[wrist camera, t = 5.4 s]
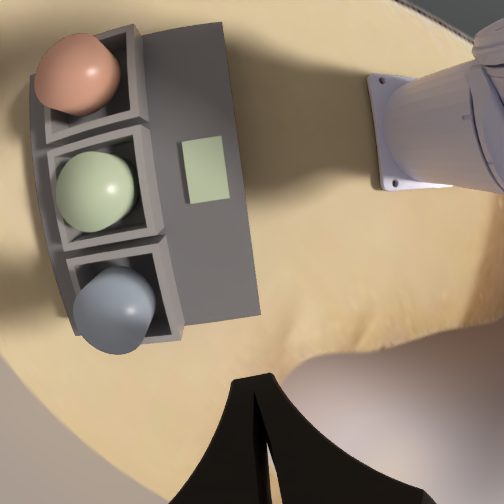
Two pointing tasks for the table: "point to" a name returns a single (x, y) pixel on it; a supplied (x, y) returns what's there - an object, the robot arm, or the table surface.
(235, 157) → the console
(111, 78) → the terracotta button
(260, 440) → the robot arm
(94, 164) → the sage button
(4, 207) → the table surface
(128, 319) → the slate button
